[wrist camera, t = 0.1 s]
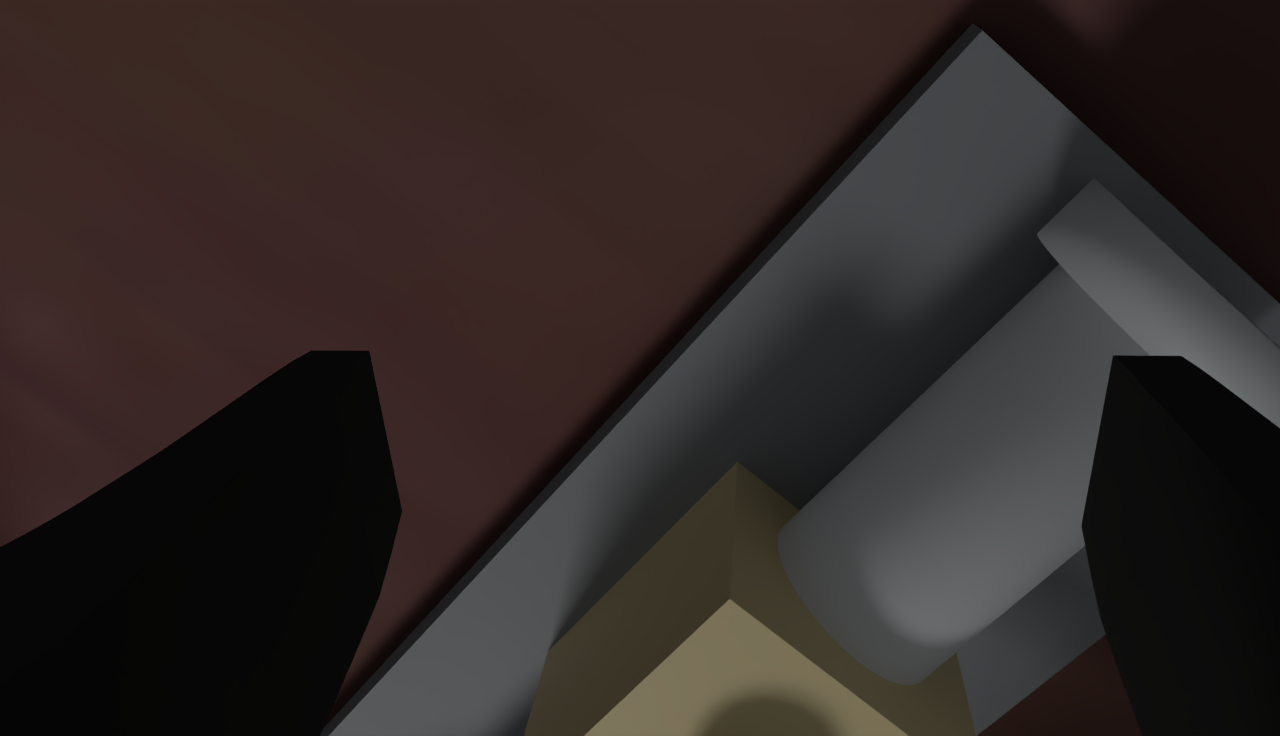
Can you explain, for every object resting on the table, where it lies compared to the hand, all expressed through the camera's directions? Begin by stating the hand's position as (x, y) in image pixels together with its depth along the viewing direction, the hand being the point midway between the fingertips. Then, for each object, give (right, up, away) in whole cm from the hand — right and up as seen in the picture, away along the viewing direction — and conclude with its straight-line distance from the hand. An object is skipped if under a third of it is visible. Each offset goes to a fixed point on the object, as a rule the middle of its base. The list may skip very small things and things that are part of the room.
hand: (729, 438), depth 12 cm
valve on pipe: (+1, -4, +13) cm, 14 cm away
